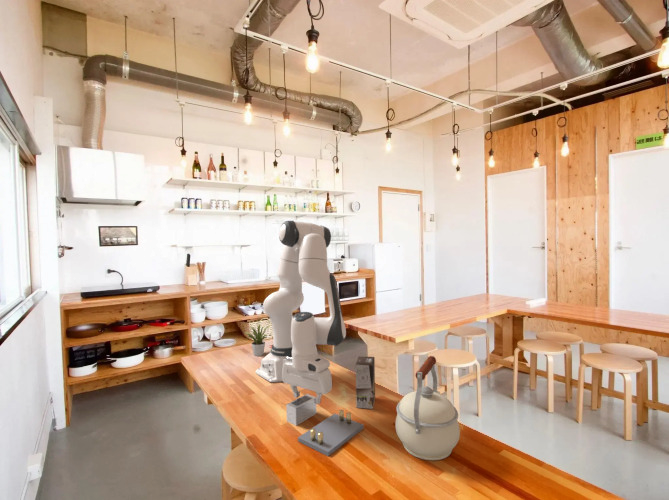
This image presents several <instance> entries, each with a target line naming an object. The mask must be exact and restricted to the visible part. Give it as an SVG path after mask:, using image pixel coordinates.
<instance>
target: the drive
mask: <svg viewBox="0 0 669 500" xmlns="http://www.w3.org/2000/svg"><path fill="white" fill-rule="evenodd" d="M316 397H317V396H314V395H311V394H309V393H305V394H303V395H302V396H299V397H298V398H296V399H294V400H292V401H290V402H289V403H287V404H286V405H285V406H286V422H288V423H290V424H292V425H294V426H298V425H300V424H301V423H303V422H305V421H306V420H308V419H309V418H311V417H313V416H315V415H317V404H315V403H314V398H316Z"/></svg>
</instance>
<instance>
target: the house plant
mask: <svg viewBox="0 0 669 500" xmlns="http://www.w3.org/2000/svg"><path fill="white" fill-rule="evenodd" d="M256 326H257V330H256V328H255V327H254V326H253V325H251V326H248V327H249V328H250V329H251V330H249V329H248V328H246V330H247V331H250V332H251V333H249V332H246V331H244V333H245V334H246V335H247V337H246V339H248V338H250V339H252V340H253V342H252V343H251V348H252V353H253V356H255V357H261V356H263V355H264V354H265V345H266V341H263V340H264V339H265V340H266V339H267V338H269V337H268V334H265V333H266V332H267V330H268V328H269V327H272V324H270V325H267V326H266V325H265V326H264V325H263V326H262V327H261V323H259V325H258V324H256ZM264 327H265V328H264ZM263 329H264V330H263Z"/></svg>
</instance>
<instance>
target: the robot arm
mask: <svg viewBox="0 0 669 500" xmlns="http://www.w3.org/2000/svg"><path fill="white" fill-rule="evenodd" d="M278 239H279V241H280V243H281V244H282V245H283V246H282V247H283V248H282V250H281V255H280V259H279V264H278V269H277V277H278V279H279V288H278V290H277V291H274V292H272V293H270V294H269V295H268V296H267V297H266V298H265V299H264V300H263V305H262V308H263V311H264V313H265V314H266V316H268V318H269V320H270V325H271V328H272V341H273V342H272V344H271V345H269V348H268V349H271V350H270V352H269V353H268V354H266V356H264V357H263V358H262V359H261V361H260V367H259V368H257V369H256V370H255V374H256V375H258V376H259V377H262V378H263V379H265V380H266V381H268V382H270V383H278V382H283V383H284V384H286V385H289V386H290V389H291V390H292V393H293V397H294V398H296V399H298V398H300V397H301V396H300V395H301V394H300V393H301V392H300V391H299V390H298V387H299V388H301V389H305V390H308V391H312V392H315V395H316V396H315V397H316V398H314V403H315V404H316V405H320V403H321V402H322V401H321V397H322V396H323V395H326V394H328V393H329V392H331V391H332V388H333V378H332V373H331V369H330V368H329V367H330V366H331V363H330V362H331V361H330V360H328V359H327V358H325V357H324V356H323V355H321V354H319V353H318V349H317V345H327V346H335V347H337V346H339V345H340V344H341V343H343V342H344V340H345V339H346V335H347V330H346V324H345V321H344V316H343V311H342V307H341V298H340V291H339V288H338V283H337V280H336V277H335V275H334V274H332V273H330V270H329V267H328V252H327V248H328V247H329V246H330V244H331V241H332V232H331V230H330V229H329V228H328V227H326V226H324V225H319V224H316V223H312V222H304V221H294V220H286V221H283V222H282V223H281V225H280V228H279V232H278ZM303 281H304V282H306V284H309V285H312V286H314V287H316V288H319V289H321V290H323V291H324V292H325V294H326V296H327V301H328V308H329V316H328V317H326V316H325V317H319V316H317V317H316V316H314V314H313V313H312V312H310V311H300V312H297V313H295V314H294V315H293V312H295V311H297V310H298V309H299V308H300V307H301V305H302V304H303V303H304V300H305V297H304V293H303Z"/></svg>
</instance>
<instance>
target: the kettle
mask: <svg viewBox="0 0 669 500" xmlns="http://www.w3.org/2000/svg"><path fill="white" fill-rule="evenodd" d="M436 363H437V358H436V357H435V356H434V355H429V356H427V359H426V360H424V362H423V364H422V365H421V366H420V368H419V370H417V371H416V373H415V378H416V380H417V381H416V382H417V383H416V390H415V391H411V392H409V393H407V394H405V395H404V396H403V397H402V398H401V400H400V401H399V402H398V403H397V405H396V409H395V411H396V413H397V414H396V417H395V427H394V428H395V432H396V435H397V437H398V438H399V440H400V441H401V442H402V446H403V447H404V449H405V450H406V452H408V453H409V454H410V455H411V456H413V457H416V458H417V459H421V460H425V461H440V460H443V459H446V458H447V457H449V456H450V455H451V453H452V451H453V449H454V448H455V447H456V445H458V442H459V441H460V435H461V432H460V431H461V430H460V425H459V421H458V419H459V411H458V410H457V408H456V407H455V406H454V405H453V403H452V401H450V399H448V398H447V397H446V396H444V395H442V394H441V392H440V391H439V390H438V376H437V371H436V368H435V366H436ZM429 372H431V376H432V388H431V387H429V386H427V385H426V386H423V381H424V380H425V379H426V376H427V375H428V374H429Z"/></svg>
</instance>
